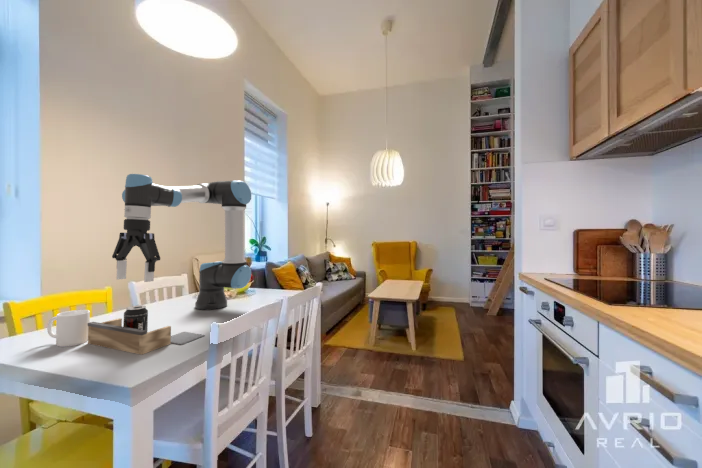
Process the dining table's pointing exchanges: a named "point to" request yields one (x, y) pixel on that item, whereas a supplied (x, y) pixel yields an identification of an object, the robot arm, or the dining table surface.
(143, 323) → the beverage can
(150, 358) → the dining table surface
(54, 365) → the dining table surface
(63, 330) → the cup
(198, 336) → the mat
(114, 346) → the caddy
